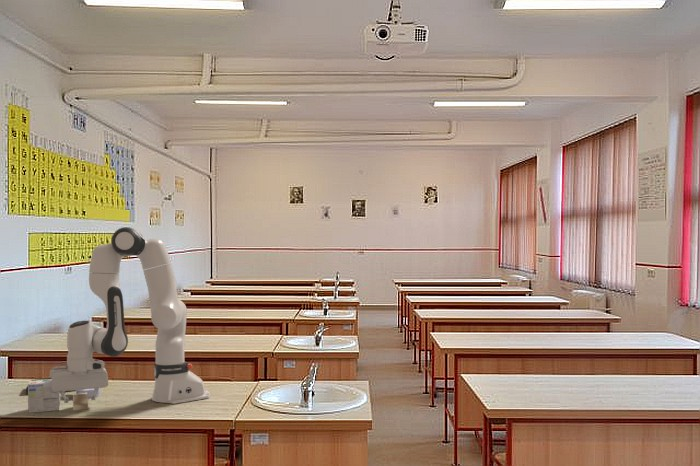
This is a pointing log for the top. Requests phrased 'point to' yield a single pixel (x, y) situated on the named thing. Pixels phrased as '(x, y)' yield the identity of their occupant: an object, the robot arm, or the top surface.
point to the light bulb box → (42, 397)
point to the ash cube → (80, 401)
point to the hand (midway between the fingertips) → (79, 401)
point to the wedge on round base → (88, 392)
